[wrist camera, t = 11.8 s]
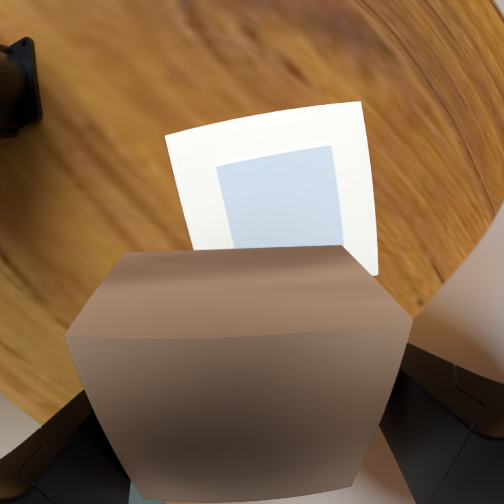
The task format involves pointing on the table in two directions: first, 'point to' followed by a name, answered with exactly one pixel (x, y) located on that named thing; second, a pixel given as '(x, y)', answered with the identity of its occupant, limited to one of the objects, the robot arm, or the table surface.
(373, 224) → the white square frame
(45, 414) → the table surface
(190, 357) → the walnut block
